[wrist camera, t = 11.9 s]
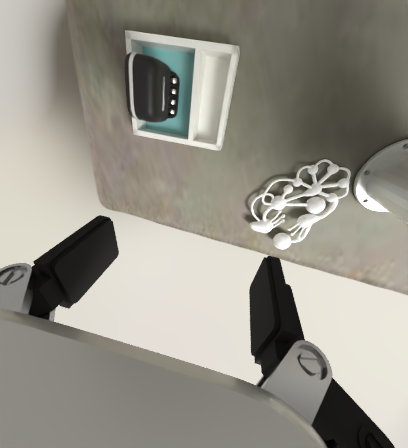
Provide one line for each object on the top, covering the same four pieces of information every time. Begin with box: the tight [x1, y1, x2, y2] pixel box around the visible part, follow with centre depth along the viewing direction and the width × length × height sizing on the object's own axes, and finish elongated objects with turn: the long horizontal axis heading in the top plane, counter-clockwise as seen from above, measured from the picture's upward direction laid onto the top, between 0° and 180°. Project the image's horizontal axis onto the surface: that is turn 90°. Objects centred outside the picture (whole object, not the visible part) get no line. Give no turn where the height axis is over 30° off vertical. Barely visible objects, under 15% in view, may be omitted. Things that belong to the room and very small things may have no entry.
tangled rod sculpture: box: [250, 159, 351, 249], centre depth 35 cm, size 19×14×4 cm
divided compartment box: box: [125, 30, 240, 151], centre depth 28 cm, size 16×13×4 cm
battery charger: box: [125, 52, 180, 123], centre depth 25 cm, size 7×4×11 cm, turn 169°
